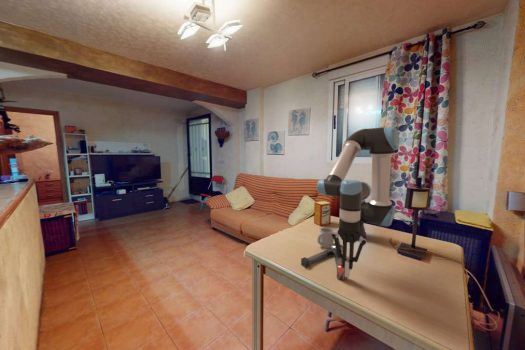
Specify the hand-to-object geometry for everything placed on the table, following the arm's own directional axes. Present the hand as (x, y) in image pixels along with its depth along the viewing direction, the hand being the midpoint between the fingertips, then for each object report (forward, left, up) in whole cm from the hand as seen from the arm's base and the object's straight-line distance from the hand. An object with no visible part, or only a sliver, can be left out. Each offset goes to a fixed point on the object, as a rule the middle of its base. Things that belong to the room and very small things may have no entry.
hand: (347, 275), depth 81 cm
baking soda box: (-28, -57, -2) cm, 63 cm away
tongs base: (+1, -15, -2) cm, 15 cm away
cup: (-9, -28, -2) cm, 29 cm away
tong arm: (-4, -10, -2) cm, 10 cm away
